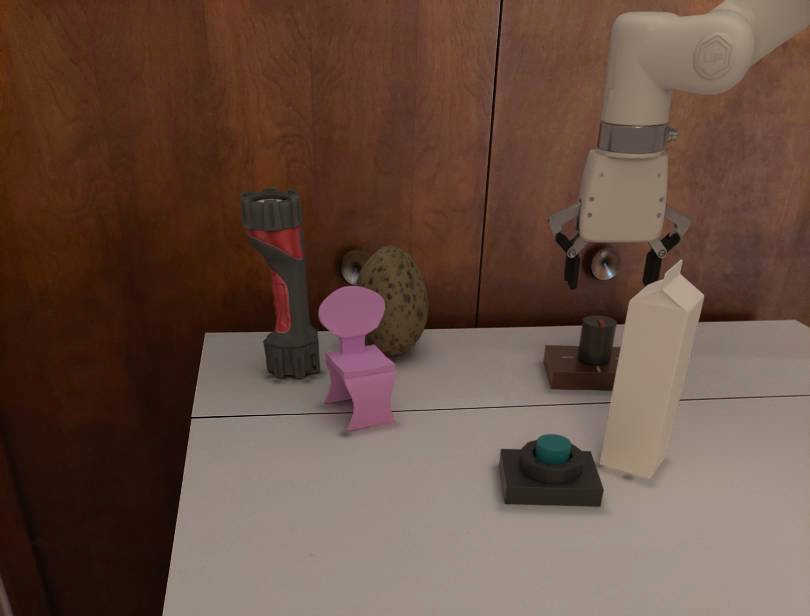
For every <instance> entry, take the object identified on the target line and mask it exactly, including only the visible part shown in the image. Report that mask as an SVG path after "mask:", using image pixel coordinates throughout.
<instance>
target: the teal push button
mask: <svg viewBox="0 0 810 616" xmlns="http://www.w3.org/2000/svg"><path fill="white" fill-rule="evenodd" d="M536 440H537V443H536V451H535V457H536V458H537V459H538V460H540V461H543V462H546V463H551V464H561V463H564V462H567V461H568V460H569V457H570V451H571V444H572V441H571V440H570V439H569V438H568V437H566V436H564V435H561V434H556V433H547V434H542V435H540V436H539V437H537V439H536Z"/></svg>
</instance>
